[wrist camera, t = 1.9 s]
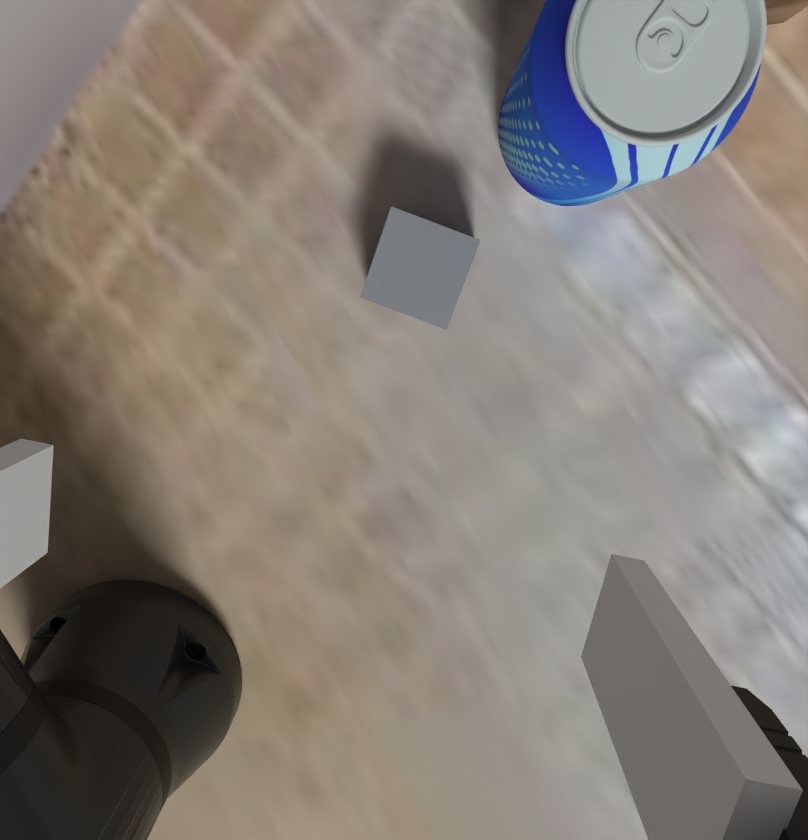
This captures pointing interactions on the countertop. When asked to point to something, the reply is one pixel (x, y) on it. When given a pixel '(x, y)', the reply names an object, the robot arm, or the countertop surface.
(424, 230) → the grey cube
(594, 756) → the countertop surface
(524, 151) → the beer can
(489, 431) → the countertop surface
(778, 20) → the walnut cube
